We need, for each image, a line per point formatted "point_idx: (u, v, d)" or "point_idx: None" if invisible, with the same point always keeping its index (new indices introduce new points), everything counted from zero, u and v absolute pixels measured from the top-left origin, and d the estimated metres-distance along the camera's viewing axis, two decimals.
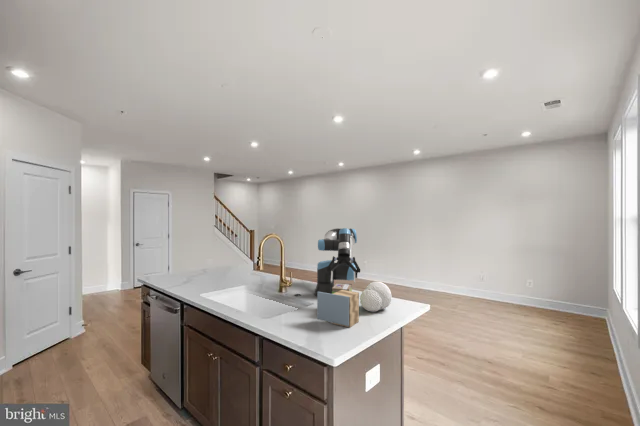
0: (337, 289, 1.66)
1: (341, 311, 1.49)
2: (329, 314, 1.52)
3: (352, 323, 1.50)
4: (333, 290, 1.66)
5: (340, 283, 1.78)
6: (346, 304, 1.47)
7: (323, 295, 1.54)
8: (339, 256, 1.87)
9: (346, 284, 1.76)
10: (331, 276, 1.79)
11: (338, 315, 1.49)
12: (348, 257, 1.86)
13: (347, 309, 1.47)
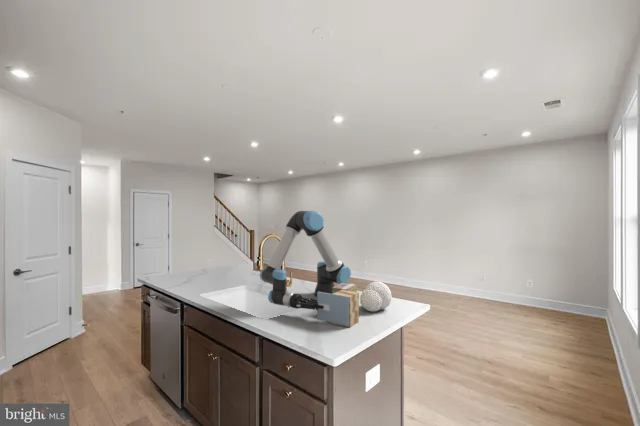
0: (337, 289, 1.67)
1: (341, 311, 1.49)
2: (329, 314, 1.52)
3: (352, 323, 1.50)
4: (333, 289, 1.68)
5: (345, 283, 1.78)
6: (346, 304, 1.47)
7: (323, 295, 1.54)
8: None
9: (350, 284, 1.75)
10: None
11: (338, 315, 1.49)
12: None
13: (347, 309, 1.47)
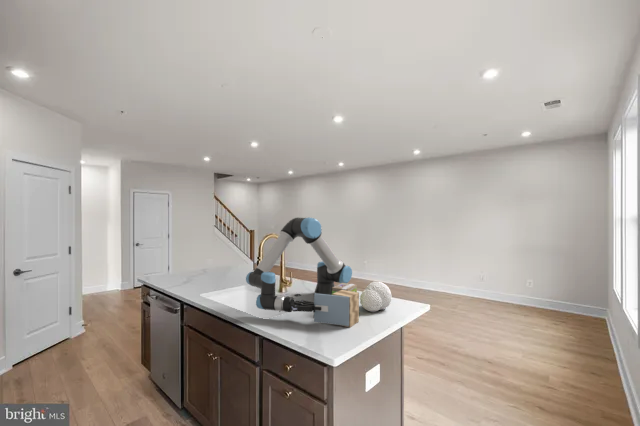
0: (337, 289, 1.67)
1: (341, 312, 1.48)
2: (327, 315, 1.50)
3: (352, 323, 1.50)
4: (333, 289, 1.68)
5: (345, 283, 1.78)
6: (346, 304, 1.47)
7: (321, 297, 1.51)
8: None
9: (350, 284, 1.75)
10: None
11: (338, 316, 1.48)
12: None
13: (347, 309, 1.47)
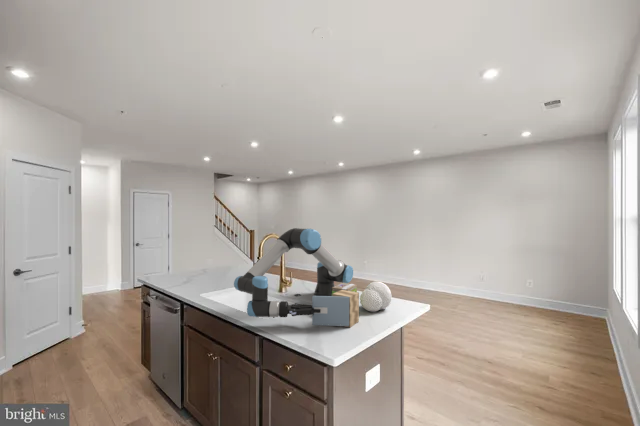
0: (337, 289, 1.67)
1: (341, 312, 1.47)
2: (327, 317, 1.47)
3: (352, 323, 1.50)
4: (333, 289, 1.68)
5: (345, 283, 1.78)
6: (347, 304, 1.47)
7: (319, 299, 1.47)
8: None
9: (350, 284, 1.75)
10: None
11: (338, 317, 1.47)
12: None
13: (348, 309, 1.46)
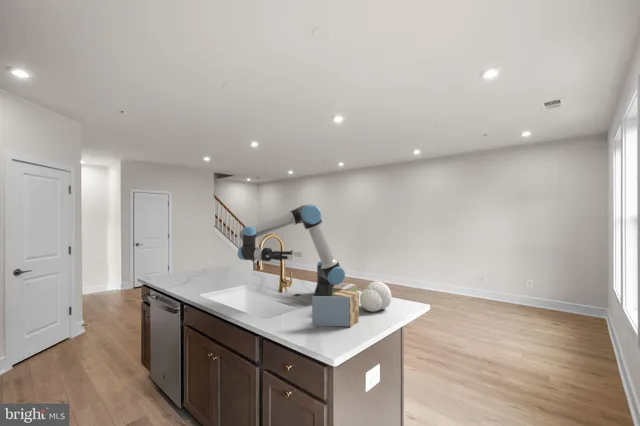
0: (337, 289, 1.67)
1: (341, 312, 1.47)
2: (327, 318, 1.47)
3: (352, 323, 1.50)
4: (333, 289, 1.68)
5: (345, 283, 1.78)
6: (347, 304, 1.46)
7: (319, 299, 1.47)
8: None
9: (350, 284, 1.75)
10: (297, 256, 1.74)
11: (338, 317, 1.47)
12: None
13: (348, 309, 1.46)
